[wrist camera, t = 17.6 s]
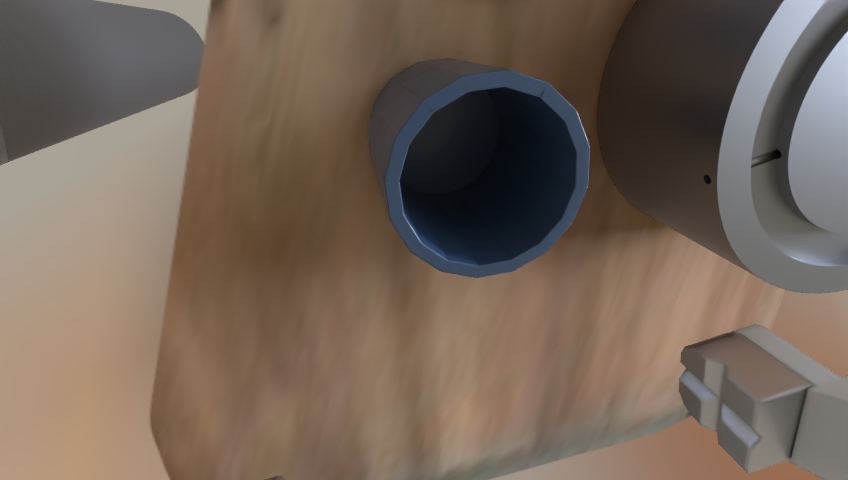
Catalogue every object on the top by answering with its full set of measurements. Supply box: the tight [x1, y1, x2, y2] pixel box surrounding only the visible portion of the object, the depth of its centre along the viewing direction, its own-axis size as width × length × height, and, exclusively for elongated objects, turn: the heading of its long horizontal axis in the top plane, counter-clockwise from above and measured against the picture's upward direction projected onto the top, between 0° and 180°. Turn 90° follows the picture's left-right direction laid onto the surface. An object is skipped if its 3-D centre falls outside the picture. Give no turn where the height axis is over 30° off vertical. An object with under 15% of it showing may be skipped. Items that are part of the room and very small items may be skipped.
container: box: [598, 0, 848, 293], centre depth 33 cm, size 25×25×13 cm
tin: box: [368, 58, 590, 278], centre depth 30 cm, size 11×11×14 cm
